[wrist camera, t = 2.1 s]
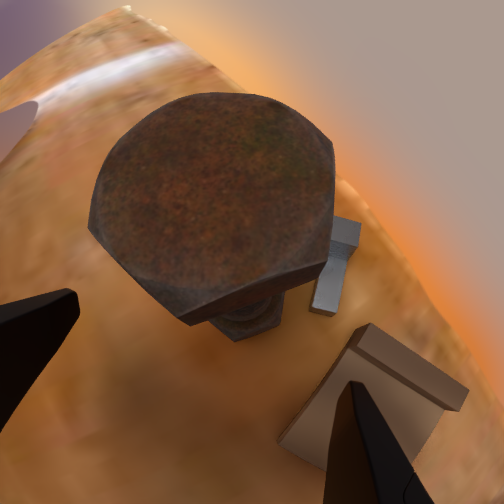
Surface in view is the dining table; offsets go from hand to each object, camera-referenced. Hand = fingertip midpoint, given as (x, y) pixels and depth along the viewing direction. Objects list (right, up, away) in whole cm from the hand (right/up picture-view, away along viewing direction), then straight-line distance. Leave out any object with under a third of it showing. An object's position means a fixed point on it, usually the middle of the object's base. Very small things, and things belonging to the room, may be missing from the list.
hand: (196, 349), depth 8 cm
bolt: (+1, -1, +12) cm, 12 cm away
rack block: (+9, -8, +8) cm, 15 cm away
